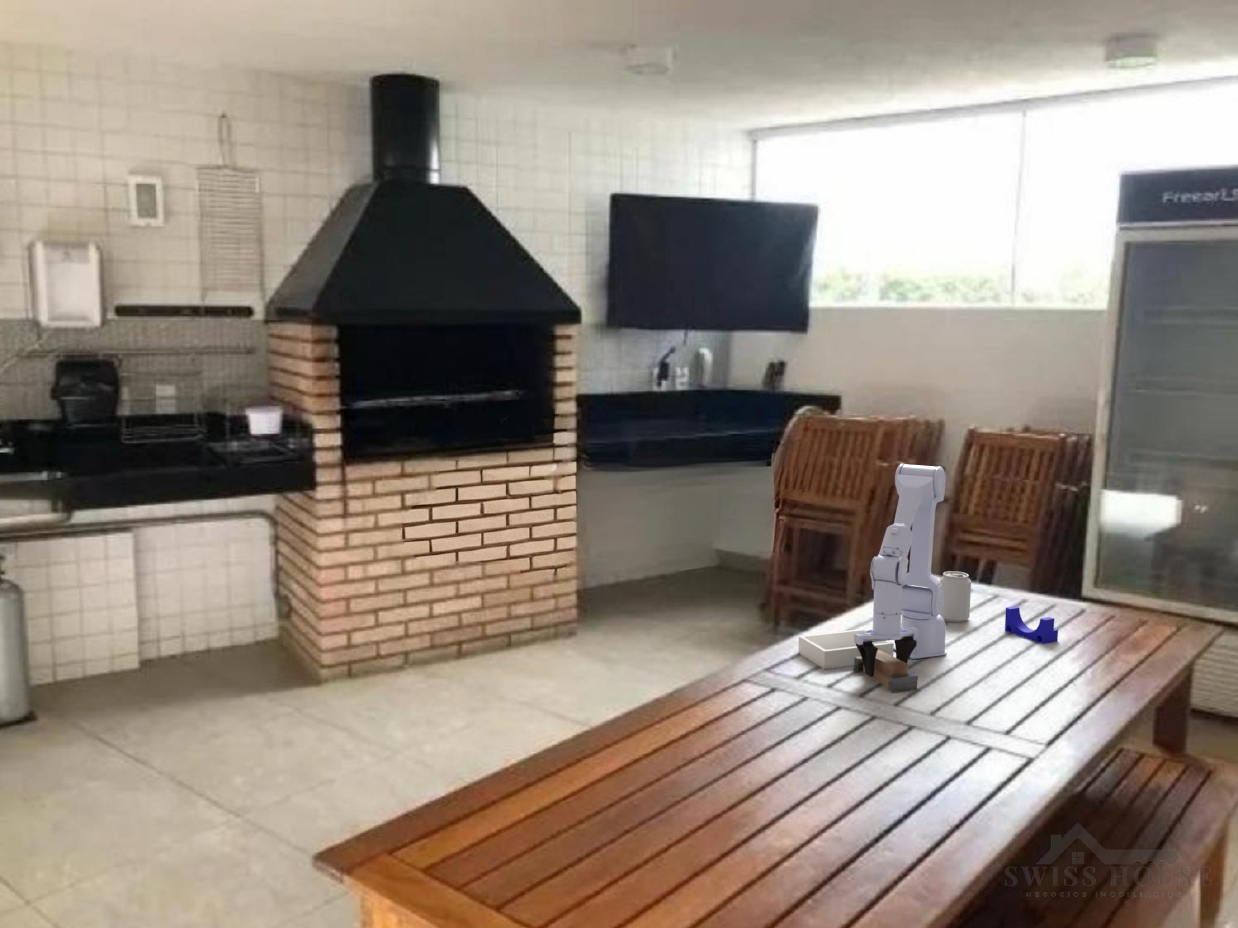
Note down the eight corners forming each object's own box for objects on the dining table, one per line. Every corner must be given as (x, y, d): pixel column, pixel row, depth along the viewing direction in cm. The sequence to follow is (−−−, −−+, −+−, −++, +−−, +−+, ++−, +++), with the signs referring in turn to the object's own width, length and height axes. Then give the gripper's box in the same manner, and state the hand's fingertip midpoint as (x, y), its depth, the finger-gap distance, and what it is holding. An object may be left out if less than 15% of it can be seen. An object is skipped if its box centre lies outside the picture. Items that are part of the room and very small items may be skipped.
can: (973, 623, 264) (975, 577, 262) (943, 623, 264) (945, 576, 263) (964, 614, 271) (966, 569, 270) (935, 614, 272) (937, 569, 270)
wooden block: (878, 671, 229) (879, 649, 228) (907, 686, 220) (907, 663, 219) (863, 674, 227) (863, 651, 227) (891, 689, 218) (891, 666, 217)
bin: (864, 645, 247) (865, 628, 246) (893, 660, 236) (893, 643, 235) (798, 652, 241) (798, 636, 240) (824, 668, 230) (824, 651, 230)
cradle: (877, 666, 231) (878, 653, 231) (917, 689, 217) (917, 675, 217) (853, 669, 229) (854, 656, 229) (892, 692, 216) (892, 678, 215)
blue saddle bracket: (1057, 641, 249) (1058, 617, 249) (1043, 644, 247) (1045, 620, 247) (1018, 628, 260) (1019, 605, 259) (1004, 631, 258) (1005, 607, 257)
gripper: (867, 619, 215) (865, 683, 217) (927, 613, 220) (925, 675, 222) (849, 610, 222) (847, 672, 224) (908, 604, 227) (905, 664, 228)
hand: (885, 673), depth 223 cm, fingers open, 7 cm apart
